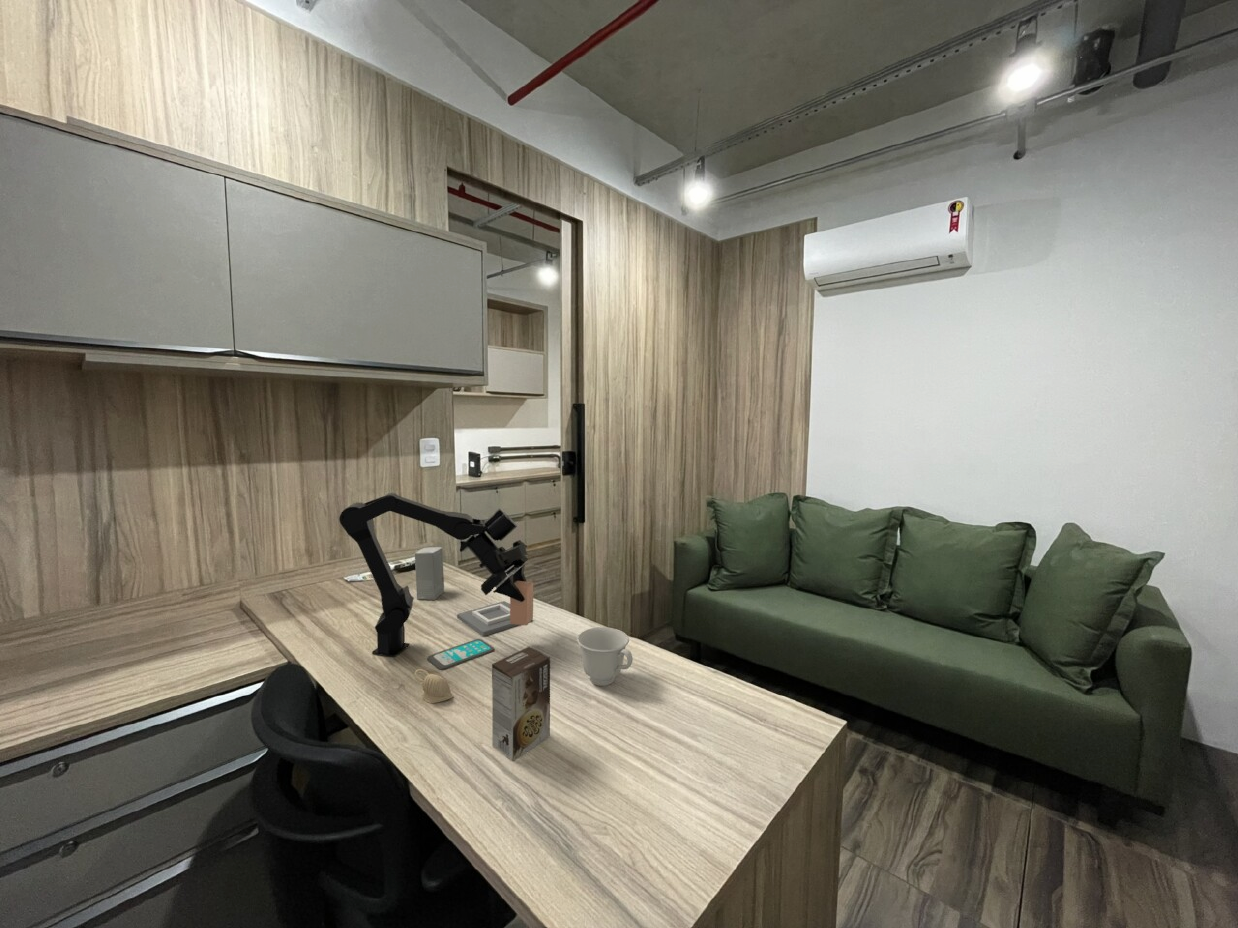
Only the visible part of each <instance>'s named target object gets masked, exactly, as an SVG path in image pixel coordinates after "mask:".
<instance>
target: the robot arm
mask: <svg viewBox="0 0 1238 928" xmlns="http://www.w3.org/2000/svg"><path fill="white" fill-rule="evenodd" d="M387 512H392V513H395V514H397V515H401V516H404V517H407V518H410V519H413V520H416V521H418V522H422V523H425V524H428V525H431V526H434V527H436V528H438V529H440V530H441V531H443V533H444V534H446V535H448V536H450V537H452V538H454V539H456V540H458V541H459V540H460V547H459V551H460V553H461V552H466V551H467V550H469V551H470V552H471V553H472V554H473V555H474V556H475V558H476V559H477V560H478V561H479V562H480V564H479V567H480V568H481V569H482V568H484V567H485V569H486V570H487V571H488V572H489V573H490V574H491V575H490V576H489V577H487V579H485V580H484V581H483V583H481V584H480V590H481V592H482V593H483V594H484V595H485V596H488V594H490V593H491V592H492V591H493V594H495V593H497V594H499V595H503V596H506V597H508V598H509V599H510V598H513V599H515V600H518V601H520V602H523V601H524V600H525V598H524V597H523V595H522V594H521V592H520V591H519V589H518V588H517V587H516V585H515V584H514V583H515V582H516V581H525V582H528V581H527V578H526V576H525V574H524V573H525V572H524V571H525V567H526V562H528V560H529V559H528V557H527V555H528V551H527V548H528V545H526V544H525V542H523V541H521V539H518V540H516V541H515V542H514V541H513V543H512V546H511V547H510V548H508V549H505V548H504V547H503V546H500V547H498V546H497V545H496V543H494V541H497V542H498V541H503V540H504V539H505V538H506V537H508V536H509V534H511V533H512V532H513V531H514V530H515V529H517V528H518V525H517V524H516V522H515V521H514V520H513V519H512V518H511V516H509V515H508V514H507V513H505V512H504V511H503V510H502V509H501V508H498V509H497V510H496V511H494V513H493V514H492V515H491V516H490V517H489V518H488V519H486V520H484V519H478V518H473V517H472V516H471V515H469V514H468V513H463V512H456V511H448V510H446V511H445V510H440V509H437V508H435V507H432V506H430V505H429V506H428V505H426V504H423V503H420V502H418V501H414V500H412V499H408V498H406V497H403V496H400V495H398V494H397V493H396V492H395V493H394V492H389V493H386V494H385V495H382V496H381V497H377V498H375V499H372V500H369V501H367V502H364V503H363V502H355V503H354V502H353V503H352V504H350V505H349V506H347V507H346V508H344V509H343V510H342V511H341V513H340V515H339V518H338V519H339V523H340V525H341V527H342V528H343V529H344V531H345V532H346V533H347V535H348V536H349V537H350V538H351V539H352V540H353V541H354V542H356V543H357V545H358V548H359V549H360V552H361V554H362V556H363V558H364V561H365V563H366V564H367V567H368V569H369V572H370V574H371V575H372V578H373V580H374V582H375V584H376V586H377V588H378V590H379V592H380V593H379V594H380V598H381V599H380V600H381V608H382V612H381V614H380V616H379V619H378V620H377V623H376V625H375V627H374V628H375V631H376V634H377V635H376V638H377V641H376V642H377V643H376V644H377V647H376V648H375V649H374V650H372V654H373V655H378V656H387V657H396V656H397V655H399V654H400V653H402V652H403V651H404V650H405V649H407V648H408V647H409V646H410V642H405V635H406V634H405V632H406V631H405V623H406V622H407V621H408V619H409V618H410V615H411V612H412V610H413V609H412V608H413V605H414V603H413V602H414V599H415V597H414V596H413V595H411V593H410V588H409V585H406V586H404V587H402V586H401V585H400V584H399V583H398V581H397V579H396V577H395V575H394V573H393V571H392V568H391V566H390V564H389V562H388V559H387V557H386V555H385V554H384V551H383V549H382V547H381V545H380V542H379V540H378V538H377V536H376V535H377V534H376V531H375V530H376V529H375V521H374V519H376V518H377V517H379V516H381V515H384V514H385V513H387ZM487 534H488V535H487ZM492 539H493V540H492Z"/></svg>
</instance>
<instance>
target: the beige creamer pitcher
mask: <svg viewBox="0 0 1238 928" xmlns="http://www.w3.org/2000/svg"><path fill="white" fill-rule="evenodd" d="M418 673H423V674H425V677H424V679H422V678H420V677H419V676H418ZM414 677H415V678H414V679H416V680H417V681H418V682H419V683H421V684H422V687H421V688H422V691H423V692H422V695H421V696H422V697H423V699H424V700H425V701H426V703H429V704H435V703H441V702H445V701H447V700H449V699H452V698H454V697H455V695H453V694H452V692H451V688H450V685H449V683H448V682H447V681H446V680H445V678H443V677H441V676H440V675H438V674H435V673H429V672H428V671H427V670H425V669H422V668H420V669H416V670H415V672H414Z"/></svg>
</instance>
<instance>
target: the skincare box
mask: <svg viewBox="0 0 1238 928" xmlns="http://www.w3.org/2000/svg"><path fill="white" fill-rule="evenodd" d="M443 548H444V547H442V546H441V547H440V546H439V547H438V546H437V547H435V546H434V547H433V546H431V547H427V546H426V547H423V548H421V549H419V550H417V551H416V552H414V565H415V566H414V567H415V583H416V584H415V587H416V600H428V601H429V600H432V601H436V600H437V599H438V598H439V597H440V596H441V595H443V593H444V592H445V578H444V554H443Z"/></svg>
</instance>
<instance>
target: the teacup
mask: <svg viewBox="0 0 1238 928" xmlns="http://www.w3.org/2000/svg"><path fill="white" fill-rule="evenodd" d="M629 642H630V639H629V636H628V635H627V634H626V633H625V632H624V631H622V630H619V629H616V628H614V627H601V626H600V627H599V626H598V627H593V628H588V629H586V630H584V631H582V632H581V633H580V634H579V635H578V636H577V643H578V644H579V646H580V650H581V651H580V653H581V662H582V667H583V670H584V673H585V674H586V675H587V676H588V677H589V680H590V682H591V683H592V684H594V685H597V686H608V685H611V684H612V683H614V681H615V677H617V676H618V675H619V674H620V673H621V671H622V670H627V669H629V668H631V666H632V665H633V661H634V660H633V654H632V652H631V651H630V650H629V649H627V647H626V646H628V644H629ZM624 656H625V657H624ZM624 658H626V664H624Z"/></svg>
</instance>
